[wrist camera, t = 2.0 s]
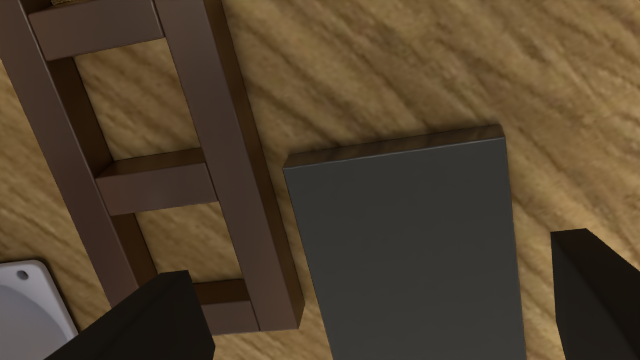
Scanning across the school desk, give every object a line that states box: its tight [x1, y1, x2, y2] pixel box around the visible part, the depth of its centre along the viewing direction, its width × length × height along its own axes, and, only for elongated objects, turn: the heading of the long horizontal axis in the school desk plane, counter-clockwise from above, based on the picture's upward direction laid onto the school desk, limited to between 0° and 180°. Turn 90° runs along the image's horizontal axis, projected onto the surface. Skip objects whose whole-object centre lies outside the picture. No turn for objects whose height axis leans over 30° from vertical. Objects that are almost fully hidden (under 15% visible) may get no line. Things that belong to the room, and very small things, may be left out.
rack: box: [0, 0, 305, 336], centre depth 21 cm, size 8×20×2 cm, turn 12°
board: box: [282, 124, 527, 360], centre depth 23 cm, size 8×12×1 cm, turn 13°
